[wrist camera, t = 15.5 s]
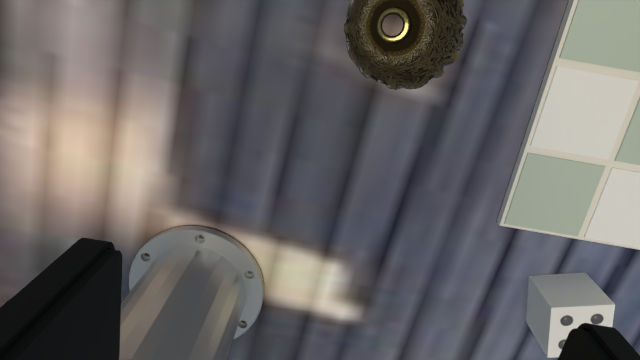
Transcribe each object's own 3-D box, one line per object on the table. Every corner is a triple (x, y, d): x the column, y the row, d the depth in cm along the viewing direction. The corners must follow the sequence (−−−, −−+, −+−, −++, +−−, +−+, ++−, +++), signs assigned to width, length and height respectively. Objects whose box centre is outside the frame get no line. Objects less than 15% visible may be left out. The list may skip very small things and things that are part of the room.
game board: (652, 248, 42) (659, 253, 41) (496, 221, 41) (500, 226, 40) (768, -4, 34) (780, -4, 34) (581, -38, 34) (588, -39, 33)
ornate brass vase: (459, 0, 35) (491, -2, 28) (411, 89, 38) (429, 109, 30) (371, -46, 35) (379, -62, 27) (328, 48, 37) (324, 57, 30)
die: (580, 318, 44) (608, 355, 40) (525, 321, 45) (547, 358, 40) (585, 272, 43) (615, 304, 38) (528, 275, 43) (551, 308, 38)
